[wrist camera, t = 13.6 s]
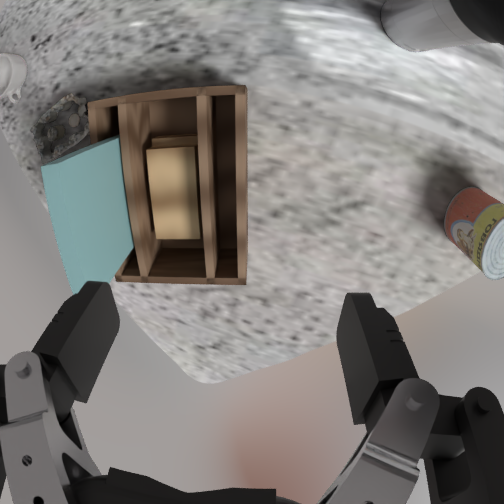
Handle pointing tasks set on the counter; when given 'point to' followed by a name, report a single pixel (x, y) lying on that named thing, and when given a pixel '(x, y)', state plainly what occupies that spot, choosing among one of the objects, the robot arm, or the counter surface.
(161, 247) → the rack
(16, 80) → the teacup
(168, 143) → the oak offcut lower
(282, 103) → the counter surface
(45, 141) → the egg carton
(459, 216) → the canned food
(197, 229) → the oak offcut upper
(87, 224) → the teal board
